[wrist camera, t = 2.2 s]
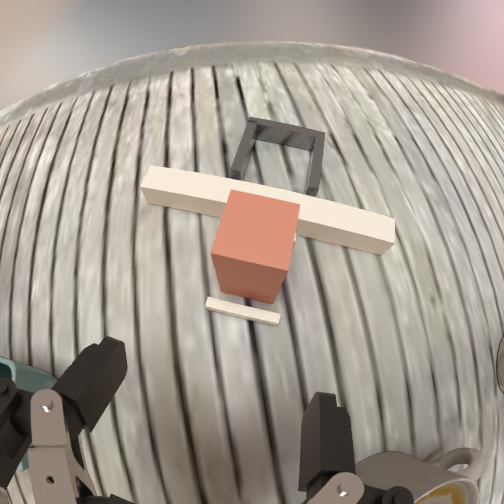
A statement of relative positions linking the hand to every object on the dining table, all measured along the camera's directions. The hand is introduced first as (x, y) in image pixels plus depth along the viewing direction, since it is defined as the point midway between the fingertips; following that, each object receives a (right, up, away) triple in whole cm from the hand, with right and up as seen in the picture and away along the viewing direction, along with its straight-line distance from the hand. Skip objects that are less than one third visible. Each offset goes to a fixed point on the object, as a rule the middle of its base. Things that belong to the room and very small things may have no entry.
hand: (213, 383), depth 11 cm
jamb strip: (+2, +5, +16) cm, 16 cm away
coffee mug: (+15, -17, +7) cm, 24 cm away
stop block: (+2, +3, +15) cm, 15 cm away
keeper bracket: (+4, +15, +20) cm, 25 cm away
